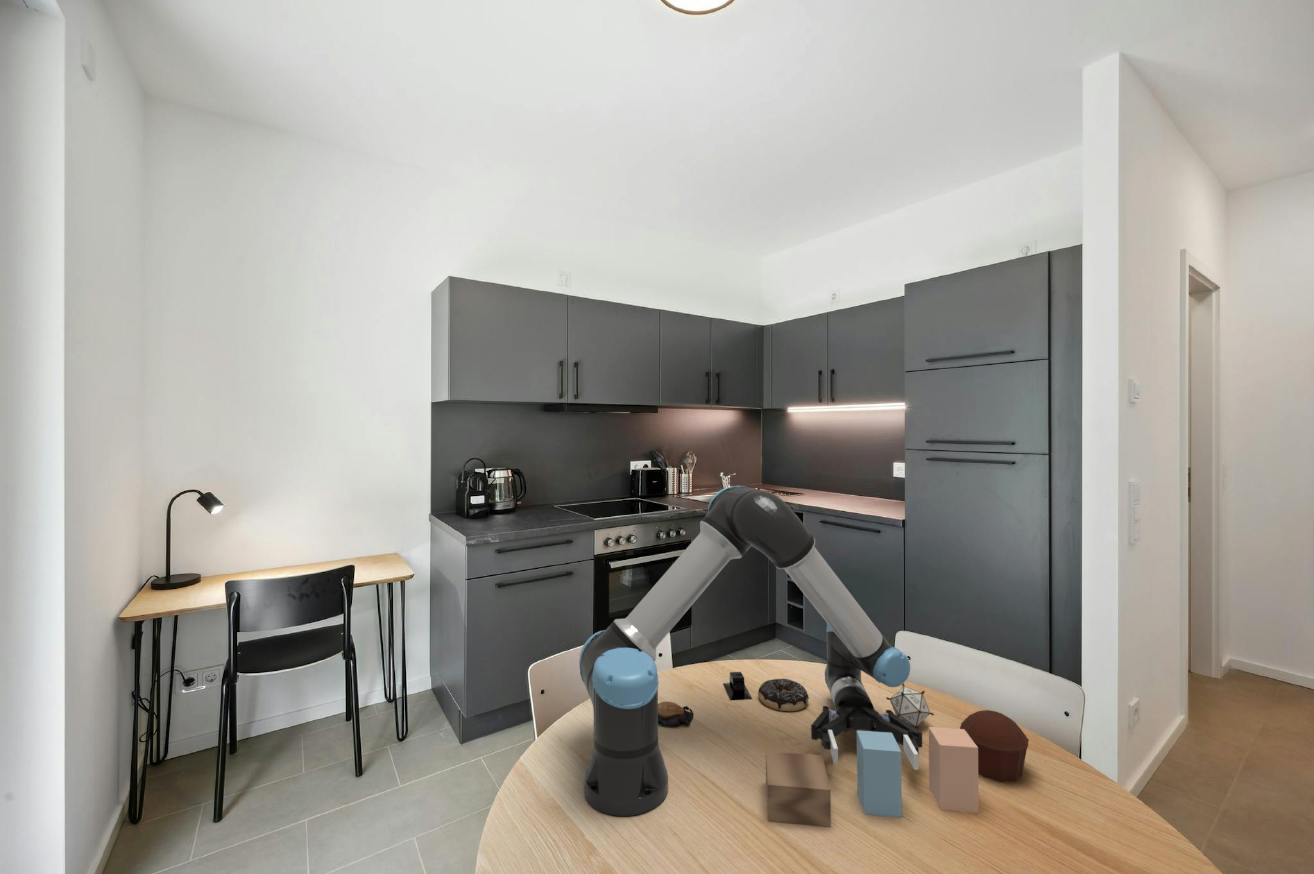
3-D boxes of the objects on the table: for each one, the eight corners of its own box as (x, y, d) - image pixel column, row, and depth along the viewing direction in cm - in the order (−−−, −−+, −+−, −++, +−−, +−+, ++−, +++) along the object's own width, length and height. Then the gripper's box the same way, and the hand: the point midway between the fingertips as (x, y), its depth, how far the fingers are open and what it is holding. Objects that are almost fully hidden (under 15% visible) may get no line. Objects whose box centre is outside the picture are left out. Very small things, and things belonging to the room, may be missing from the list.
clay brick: (940, 809, 95) (939, 745, 95) (929, 787, 101) (928, 726, 101) (978, 813, 94) (978, 747, 94) (964, 790, 100) (964, 729, 100)
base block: (768, 820, 93) (767, 784, 93) (766, 783, 103) (765, 751, 103) (830, 826, 91) (830, 789, 91) (822, 788, 101) (822, 755, 101)
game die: (919, 741, 123) (950, 710, 121) (898, 738, 119) (929, 706, 116) (892, 705, 131) (920, 675, 128) (871, 702, 126) (900, 671, 124)
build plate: (757, 704, 135) (757, 685, 134) (727, 706, 134) (727, 686, 134) (744, 681, 147) (744, 664, 147) (717, 683, 146) (717, 665, 146)
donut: (777, 687, 143) (776, 671, 143) (818, 703, 134) (818, 686, 134) (749, 701, 135) (749, 685, 135) (791, 719, 126) (791, 701, 126)
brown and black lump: (642, 728, 124) (641, 711, 124) (650, 709, 132) (649, 694, 132) (689, 732, 122) (689, 715, 122) (694, 713, 130) (694, 697, 130)
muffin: (964, 745, 115) (964, 696, 115) (1029, 763, 109) (1029, 711, 109) (956, 773, 105) (956, 720, 105) (1027, 795, 99) (1026, 738, 99)
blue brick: (864, 814, 94) (863, 748, 94) (857, 791, 100) (856, 730, 100) (901, 817, 93) (901, 751, 93) (892, 794, 99) (892, 732, 99)
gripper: (792, 681, 122) (802, 732, 101) (913, 688, 118) (950, 742, 97) (792, 716, 122) (803, 774, 101) (913, 724, 118) (950, 786, 97)
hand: (875, 759), depth 99 cm, fingers open, 13 cm apart
